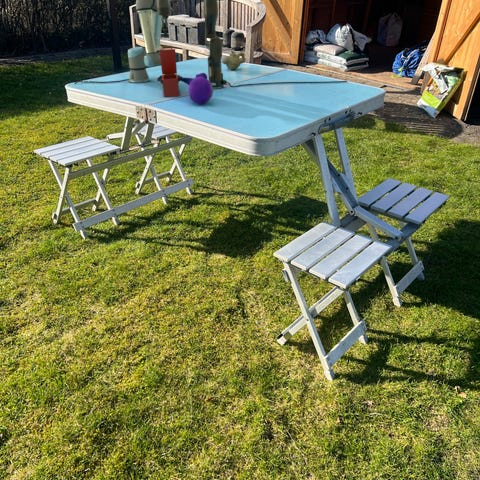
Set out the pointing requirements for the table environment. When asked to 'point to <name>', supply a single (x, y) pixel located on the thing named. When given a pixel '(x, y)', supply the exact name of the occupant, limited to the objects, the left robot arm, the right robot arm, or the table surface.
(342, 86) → the table surface
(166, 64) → the lid
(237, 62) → the teapot
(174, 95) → the chest
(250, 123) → the table surface
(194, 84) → the toy
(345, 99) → the table surface
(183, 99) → the table surface
